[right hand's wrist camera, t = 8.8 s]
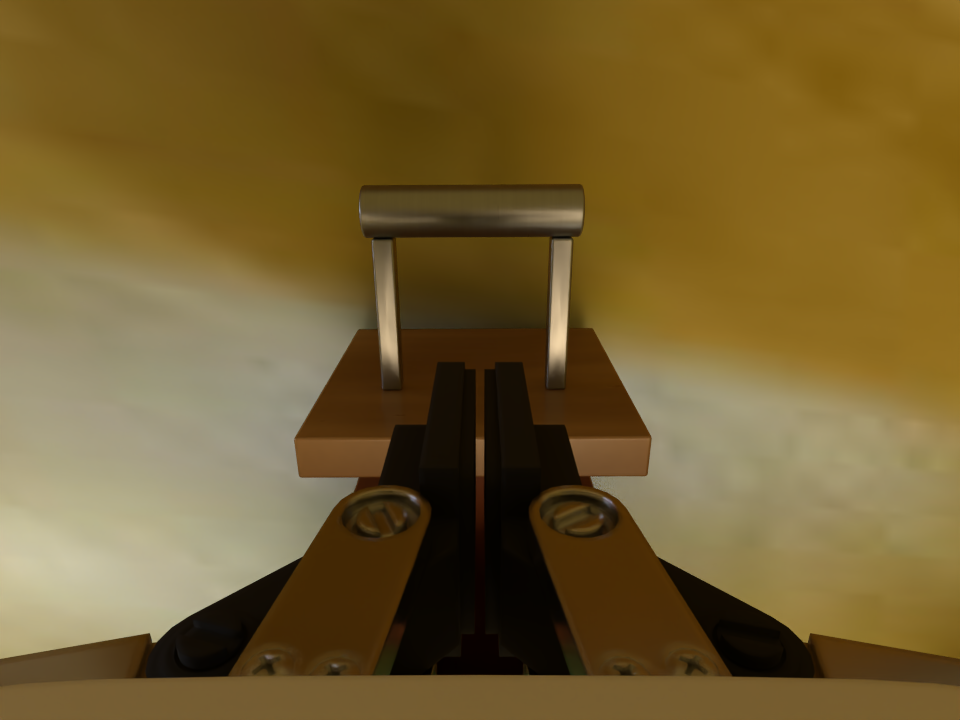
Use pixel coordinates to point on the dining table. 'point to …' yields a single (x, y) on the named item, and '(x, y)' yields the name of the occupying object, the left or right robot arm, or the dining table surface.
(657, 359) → the dining table surface
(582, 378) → the drawer
